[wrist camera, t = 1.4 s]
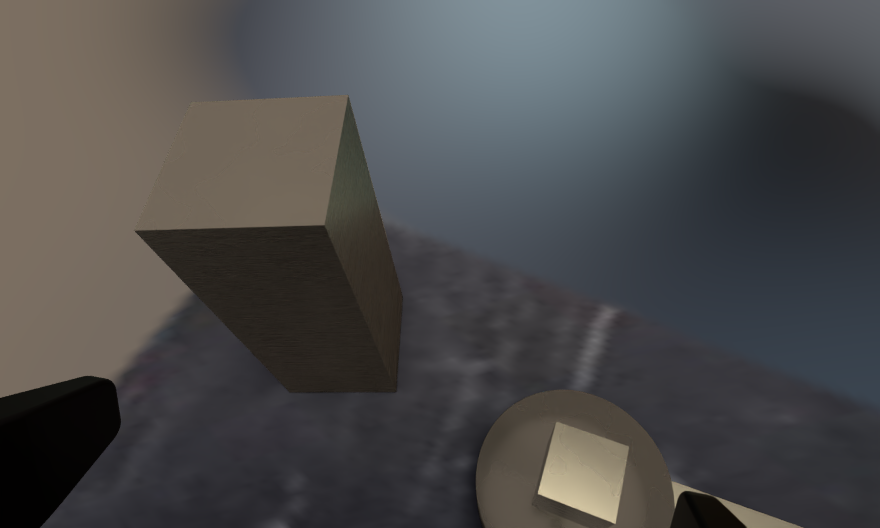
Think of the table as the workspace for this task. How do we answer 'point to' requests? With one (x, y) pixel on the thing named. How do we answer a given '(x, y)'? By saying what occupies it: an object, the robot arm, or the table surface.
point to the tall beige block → (283, 238)
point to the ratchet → (579, 469)
